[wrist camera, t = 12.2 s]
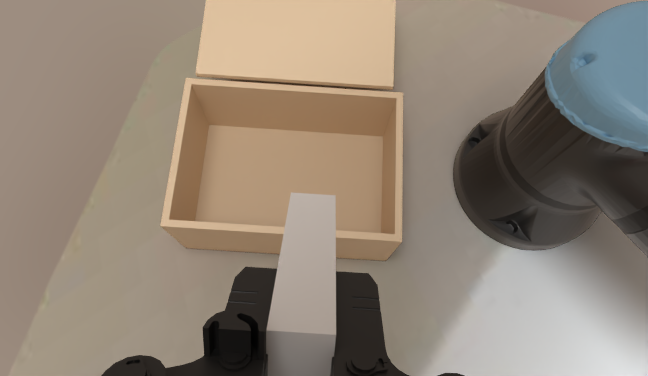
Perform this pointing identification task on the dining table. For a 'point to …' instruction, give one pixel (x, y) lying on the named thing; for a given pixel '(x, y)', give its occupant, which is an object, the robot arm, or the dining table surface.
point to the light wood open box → (285, 165)
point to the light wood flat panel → (300, 42)
